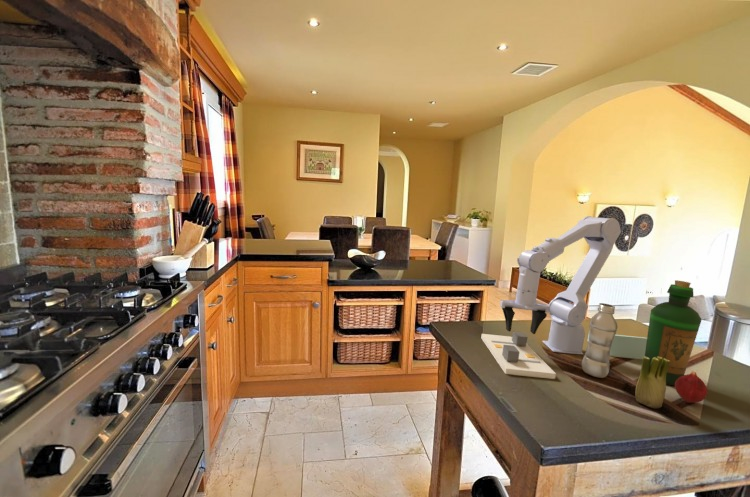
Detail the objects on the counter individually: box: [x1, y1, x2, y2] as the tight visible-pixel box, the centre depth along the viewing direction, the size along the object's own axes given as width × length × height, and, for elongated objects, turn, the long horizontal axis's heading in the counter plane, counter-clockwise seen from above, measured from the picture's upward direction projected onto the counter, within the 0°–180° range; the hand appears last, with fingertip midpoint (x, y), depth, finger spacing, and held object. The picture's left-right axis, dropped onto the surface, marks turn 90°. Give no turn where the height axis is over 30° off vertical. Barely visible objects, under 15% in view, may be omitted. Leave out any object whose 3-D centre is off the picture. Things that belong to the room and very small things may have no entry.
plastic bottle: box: [581, 303, 619, 379], centre depth 93 cm, size 6×7×20 cm
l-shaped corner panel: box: [587, 333, 647, 360], centre depth 114 cm, size 12×12×8 cm
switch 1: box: [502, 345, 519, 362], centre depth 96 cm, size 3×4×3 cm
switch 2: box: [511, 330, 528, 346], centre depth 107 cm, size 3×4×3 cm
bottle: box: [645, 280, 702, 386], centre depth 94 cm, size 11×11×28 cm
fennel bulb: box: [634, 356, 670, 410], centre depth 81 cm, size 6×5×12 cm
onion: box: [674, 370, 708, 404], centre depth 83 cm, size 6×6×8 cm
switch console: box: [480, 333, 557, 380], centre depth 102 cm, size 13×24×2 cm, turn 178°
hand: (520, 331), depth 107 cm, fingers open, 7 cm apart
